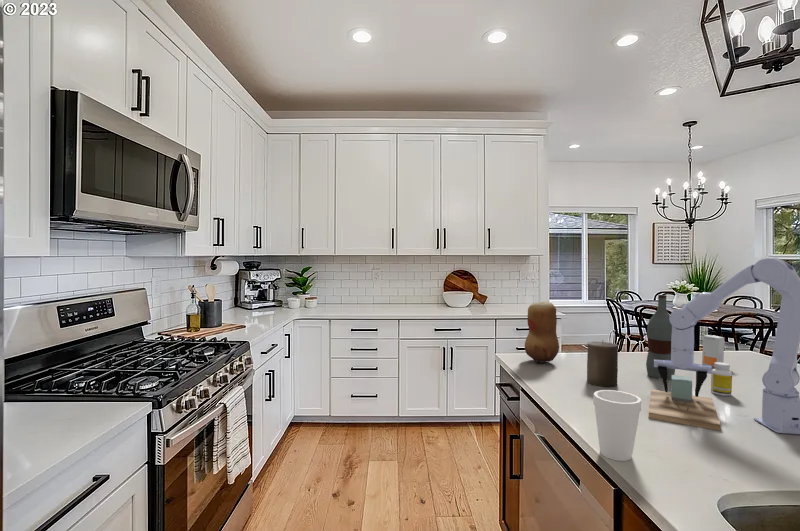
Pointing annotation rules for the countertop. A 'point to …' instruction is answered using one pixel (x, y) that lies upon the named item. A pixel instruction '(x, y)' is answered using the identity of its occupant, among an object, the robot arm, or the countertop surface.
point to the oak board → (684, 410)
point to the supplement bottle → (721, 379)
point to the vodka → (659, 339)
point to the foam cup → (616, 422)
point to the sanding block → (681, 389)
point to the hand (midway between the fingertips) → (681, 393)
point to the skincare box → (712, 350)
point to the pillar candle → (602, 364)
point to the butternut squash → (542, 332)
